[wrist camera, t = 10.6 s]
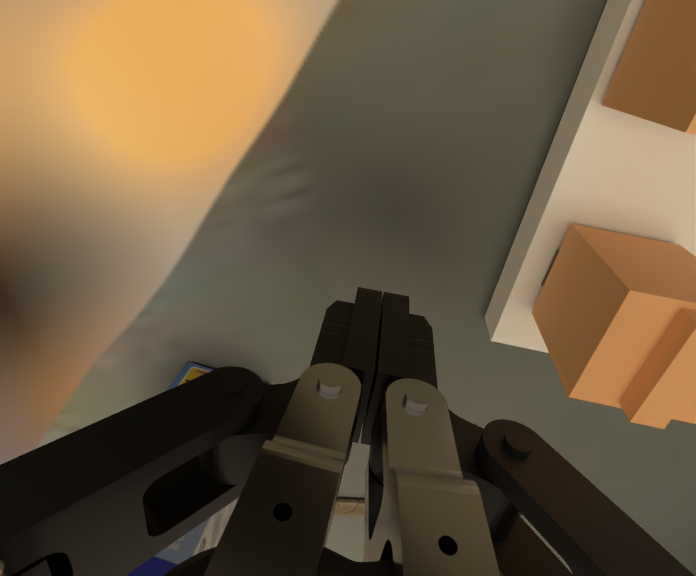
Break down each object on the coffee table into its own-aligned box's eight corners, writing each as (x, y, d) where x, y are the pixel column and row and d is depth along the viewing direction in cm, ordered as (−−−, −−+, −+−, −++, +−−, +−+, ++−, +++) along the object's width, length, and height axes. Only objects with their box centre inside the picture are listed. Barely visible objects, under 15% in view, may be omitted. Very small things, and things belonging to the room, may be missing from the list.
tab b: (680, 245, 16) (803, 338, 11) (627, 332, 18) (710, 444, 13) (571, 223, 16) (643, 305, 11) (531, 312, 18) (576, 415, 13)
